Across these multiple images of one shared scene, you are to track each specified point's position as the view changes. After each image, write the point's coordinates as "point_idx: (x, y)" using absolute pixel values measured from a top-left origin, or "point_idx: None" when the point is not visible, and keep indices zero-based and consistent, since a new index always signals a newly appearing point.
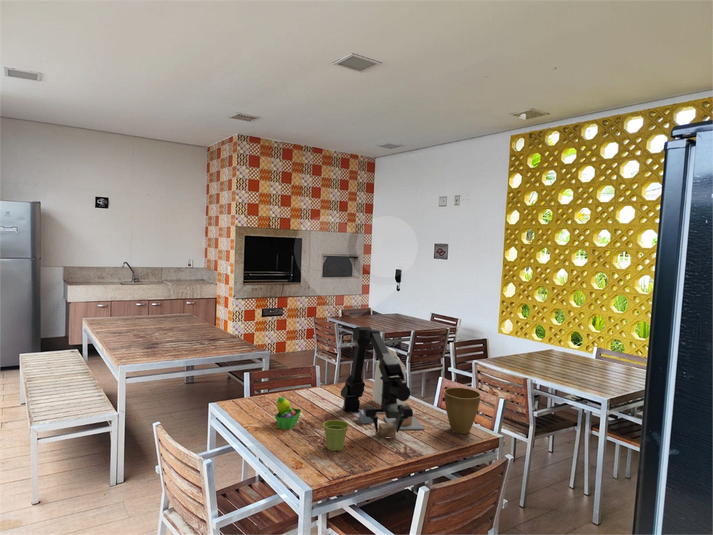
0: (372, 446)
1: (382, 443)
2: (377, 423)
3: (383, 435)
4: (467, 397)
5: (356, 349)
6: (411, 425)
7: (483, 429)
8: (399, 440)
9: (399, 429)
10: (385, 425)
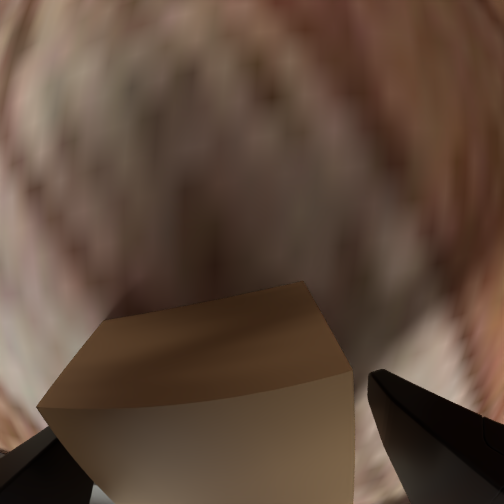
0: (423, 8)
1: (304, 83)
2: (471, 461)
3: (285, 305)
4: None
5: None
6: None
7: None
8: (50, 243)
9: None
10: (253, 501)
